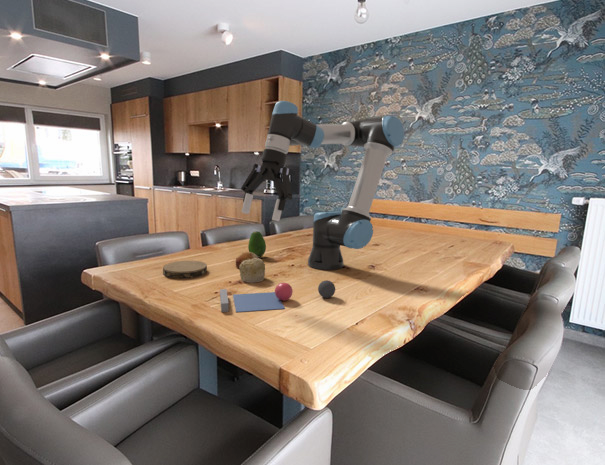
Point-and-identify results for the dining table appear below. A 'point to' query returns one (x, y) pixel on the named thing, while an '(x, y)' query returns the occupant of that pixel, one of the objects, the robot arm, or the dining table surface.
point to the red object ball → (283, 291)
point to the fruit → (257, 244)
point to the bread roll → (244, 258)
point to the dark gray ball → (326, 289)
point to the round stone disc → (184, 269)
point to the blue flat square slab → (257, 302)
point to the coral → (252, 270)
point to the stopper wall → (224, 300)
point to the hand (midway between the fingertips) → (259, 217)
